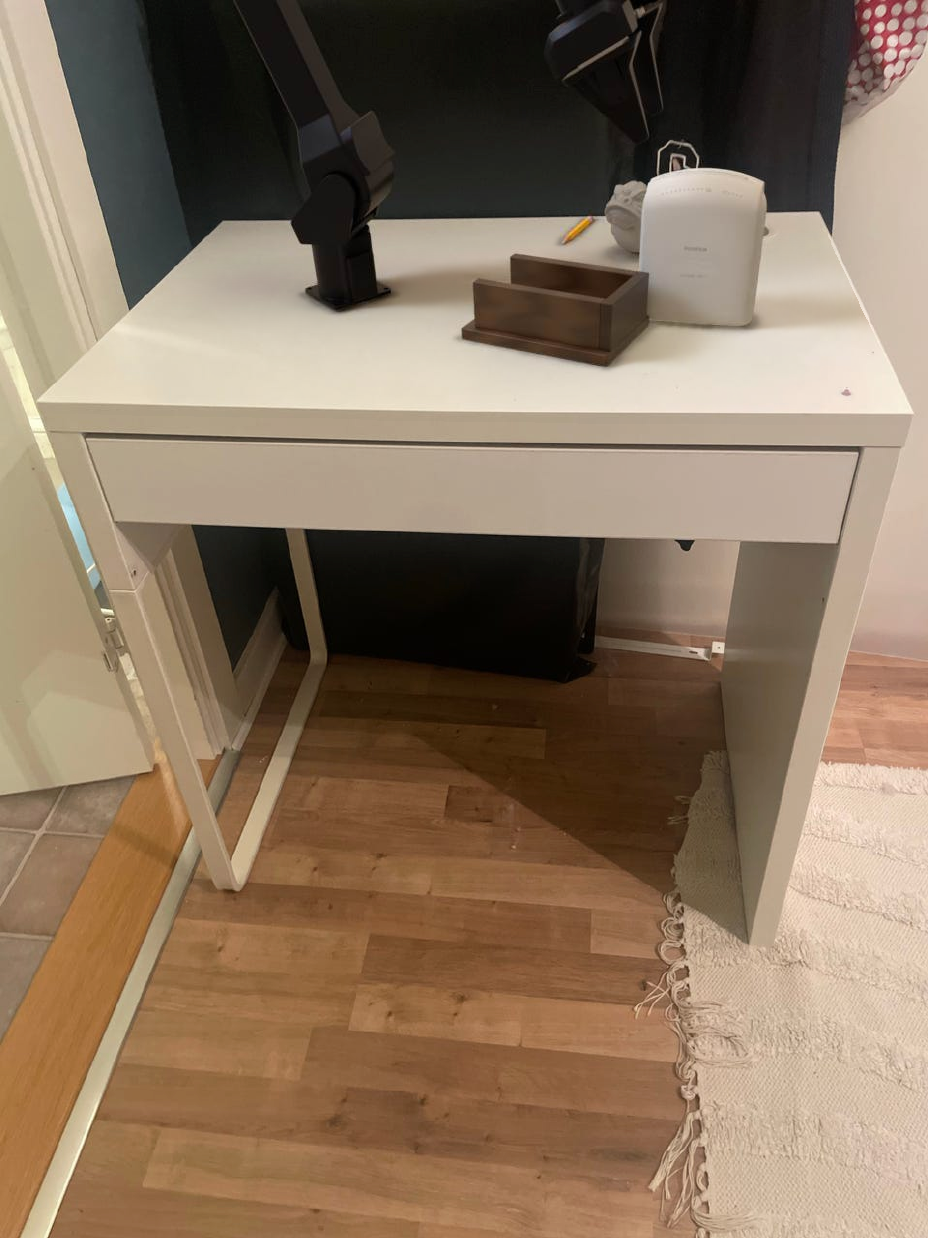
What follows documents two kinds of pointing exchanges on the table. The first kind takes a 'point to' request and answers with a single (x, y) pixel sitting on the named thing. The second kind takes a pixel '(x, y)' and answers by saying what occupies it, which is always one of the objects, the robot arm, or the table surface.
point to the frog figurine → (626, 214)
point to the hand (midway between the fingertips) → (650, 126)
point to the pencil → (578, 229)
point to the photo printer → (702, 245)
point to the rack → (561, 309)
